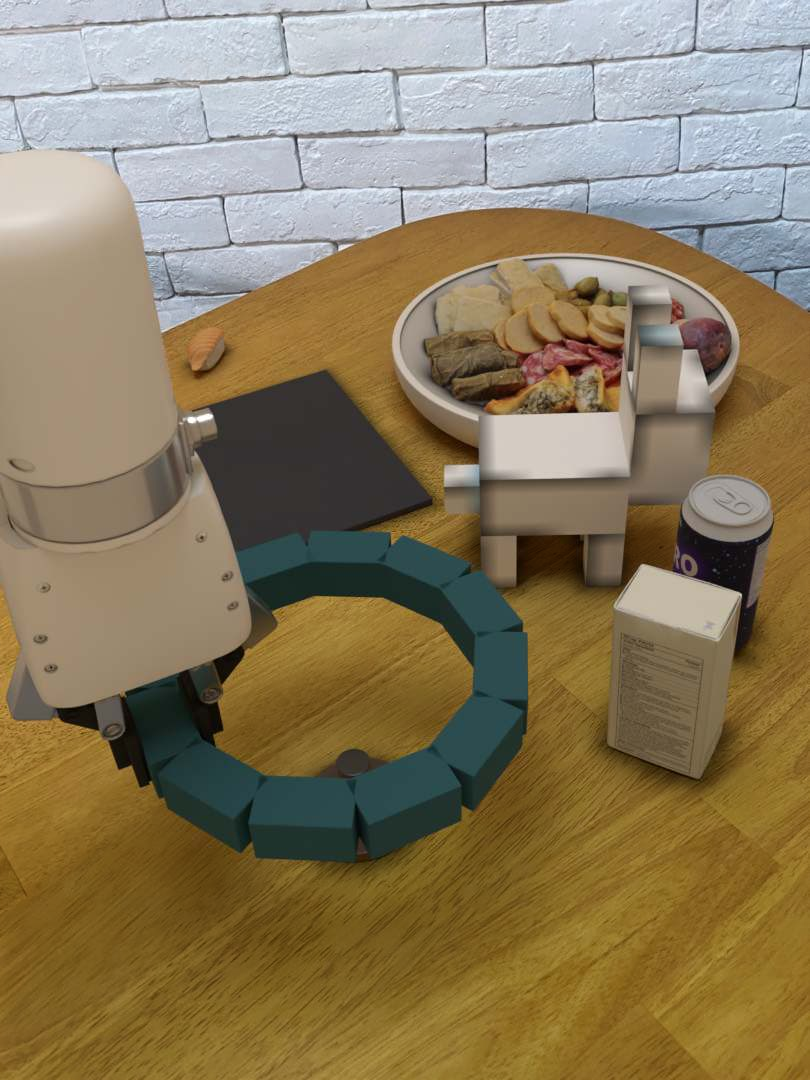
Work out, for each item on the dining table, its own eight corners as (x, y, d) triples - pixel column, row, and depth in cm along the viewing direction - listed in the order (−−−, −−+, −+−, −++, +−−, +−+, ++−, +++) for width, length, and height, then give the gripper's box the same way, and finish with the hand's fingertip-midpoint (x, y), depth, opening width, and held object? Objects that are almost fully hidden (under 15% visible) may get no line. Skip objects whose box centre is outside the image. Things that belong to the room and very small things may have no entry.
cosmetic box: (723, 733, 71) (750, 593, 63) (699, 783, 68) (724, 643, 60) (626, 697, 74) (641, 558, 66) (600, 744, 71) (612, 605, 63)
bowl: (348, 453, 96) (338, 374, 90) (449, 284, 117) (446, 212, 112) (709, 508, 87) (722, 425, 82) (748, 315, 108) (760, 239, 103)
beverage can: (701, 593, 80) (722, 459, 73) (767, 636, 77) (796, 499, 69) (647, 632, 78) (663, 497, 70) (713, 678, 74) (737, 541, 67)
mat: (167, 598, 83) (165, 592, 83) (95, 445, 99) (94, 439, 98) (433, 504, 90) (432, 498, 89) (326, 374, 105) (326, 369, 105)
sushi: (232, 345, 110) (227, 317, 108) (209, 380, 106) (204, 353, 104) (207, 343, 111) (201, 316, 109) (183, 378, 106) (177, 351, 104)
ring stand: (329, 880, 65) (319, 831, 62) (285, 791, 70) (274, 742, 66) (437, 831, 67) (434, 782, 64) (388, 748, 72) (382, 699, 68)
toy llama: (448, 522, 88) (437, 292, 75) (675, 517, 87) (705, 283, 74) (447, 588, 82) (435, 352, 69) (690, 584, 81) (725, 343, 68)
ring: (209, 931, 51) (199, 896, 49) (96, 636, 65) (85, 601, 63) (602, 760, 57) (606, 724, 55) (420, 527, 71) (418, 492, 70)
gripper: (250, 372, 51) (292, 653, 63) (-124, 476, 46) (-2, 760, 58) (312, 459, 46) (345, 747, 58) (-102, 586, 41) (27, 873, 53)
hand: (170, 751), depth 58 cm, fingers closed on ring, 2 cm apart
